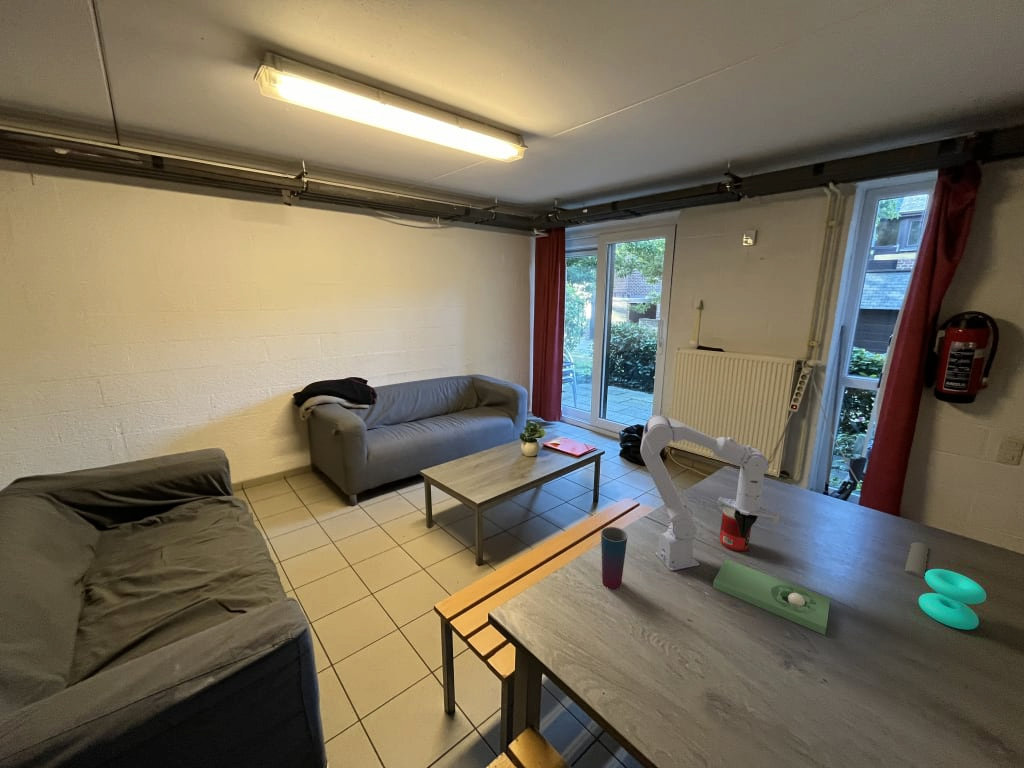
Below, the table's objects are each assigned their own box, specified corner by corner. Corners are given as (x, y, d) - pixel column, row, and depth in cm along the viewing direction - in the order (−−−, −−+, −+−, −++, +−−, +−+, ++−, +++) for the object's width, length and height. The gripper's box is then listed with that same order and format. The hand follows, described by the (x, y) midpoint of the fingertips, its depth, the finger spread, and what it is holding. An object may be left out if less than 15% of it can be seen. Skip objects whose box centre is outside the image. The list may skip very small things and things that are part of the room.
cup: (595, 586, 109) (597, 537, 106) (602, 571, 115) (604, 524, 111) (621, 595, 106) (624, 544, 102) (627, 579, 112) (630, 530, 108)
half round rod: (929, 551, 123) (930, 545, 123) (924, 581, 111) (925, 575, 110) (909, 544, 126) (911, 539, 126) (903, 573, 114) (904, 567, 113)
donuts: (943, 563, 102) (998, 590, 92) (934, 597, 104) (988, 627, 95) (915, 570, 99) (969, 599, 90) (907, 605, 101) (959, 636, 92)
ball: (804, 609, 98) (788, 600, 100) (799, 613, 101) (784, 603, 102) (809, 597, 99) (793, 588, 101) (804, 601, 102) (789, 591, 104)
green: (712, 587, 108) (713, 580, 108) (724, 564, 117) (725, 558, 117) (825, 635, 93) (826, 627, 92) (828, 605, 102) (830, 598, 101)
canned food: (751, 553, 122) (755, 520, 120) (722, 549, 124) (726, 516, 122) (744, 539, 129) (748, 508, 127) (717, 535, 131) (720, 504, 129)
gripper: (716, 489, 112) (711, 532, 115) (778, 506, 103) (771, 553, 106) (723, 480, 117) (718, 522, 120) (782, 495, 108) (775, 541, 111)
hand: (743, 536), depth 113 cm, fingers closed
